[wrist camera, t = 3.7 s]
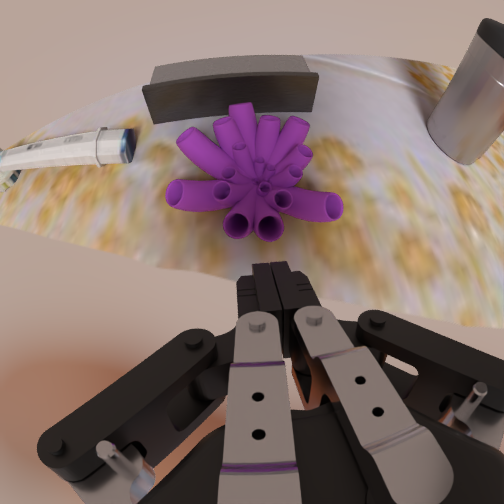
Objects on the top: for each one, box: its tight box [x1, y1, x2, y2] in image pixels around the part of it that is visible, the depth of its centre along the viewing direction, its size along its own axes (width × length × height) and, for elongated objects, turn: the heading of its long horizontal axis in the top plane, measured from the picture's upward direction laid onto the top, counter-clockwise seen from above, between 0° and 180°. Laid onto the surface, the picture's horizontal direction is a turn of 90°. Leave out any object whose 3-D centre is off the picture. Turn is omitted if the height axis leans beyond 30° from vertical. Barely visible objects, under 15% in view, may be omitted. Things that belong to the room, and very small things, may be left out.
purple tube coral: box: [166, 102, 343, 242], centre depth 23 cm, size 11×15×10 cm
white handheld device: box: [0, 127, 136, 192], centre depth 26 cm, size 5×7×25 cm
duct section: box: [142, 55, 319, 124], centre depth 29 cm, size 19×6×6 cm, turn 95°
